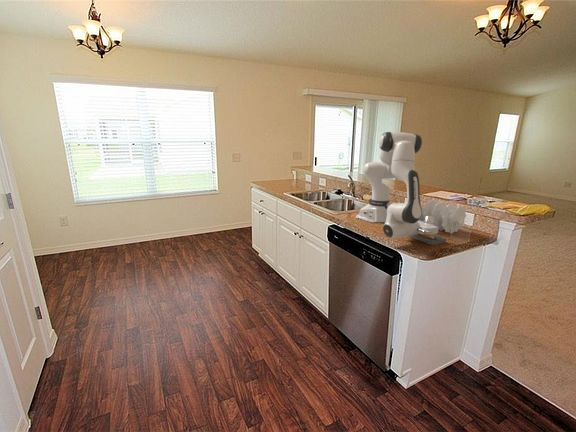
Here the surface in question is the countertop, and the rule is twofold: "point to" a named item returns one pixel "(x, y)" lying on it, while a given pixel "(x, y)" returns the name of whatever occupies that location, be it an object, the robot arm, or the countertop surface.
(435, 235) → the hook
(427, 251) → the countertop surface
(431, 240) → the board
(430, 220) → the metal post on plate
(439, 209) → the spiral staircase
